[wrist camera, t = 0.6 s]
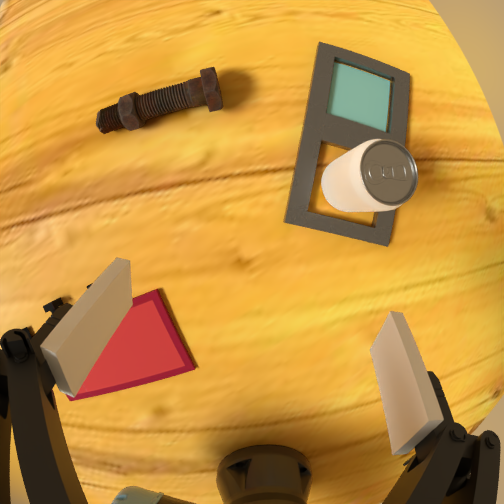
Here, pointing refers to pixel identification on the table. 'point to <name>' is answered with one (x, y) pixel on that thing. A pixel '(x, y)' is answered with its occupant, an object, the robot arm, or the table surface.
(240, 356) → the table surface
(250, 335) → the table surface
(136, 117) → the bolt
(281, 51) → the table surface
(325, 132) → the grey flat frame
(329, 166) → the can
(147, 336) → the red board with handle
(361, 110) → the pad
